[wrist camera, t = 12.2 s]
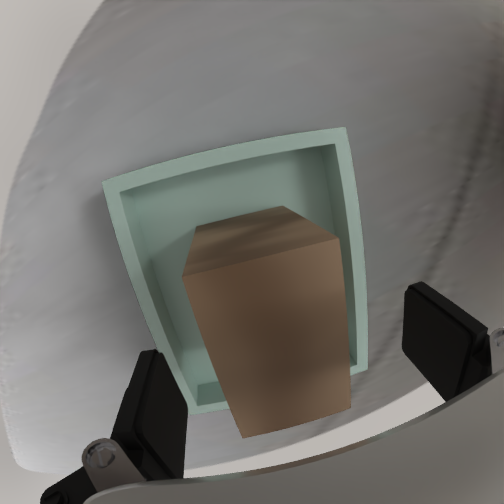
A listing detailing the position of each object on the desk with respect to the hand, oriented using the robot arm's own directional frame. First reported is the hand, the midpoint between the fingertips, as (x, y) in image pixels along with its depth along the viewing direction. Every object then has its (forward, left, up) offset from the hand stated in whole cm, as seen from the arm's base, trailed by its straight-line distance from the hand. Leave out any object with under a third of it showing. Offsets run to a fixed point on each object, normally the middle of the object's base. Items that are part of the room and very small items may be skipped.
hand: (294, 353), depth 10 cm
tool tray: (+1, 0, -9) cm, 9 cm away
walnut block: (0, 0, -8) cm, 8 cm away
